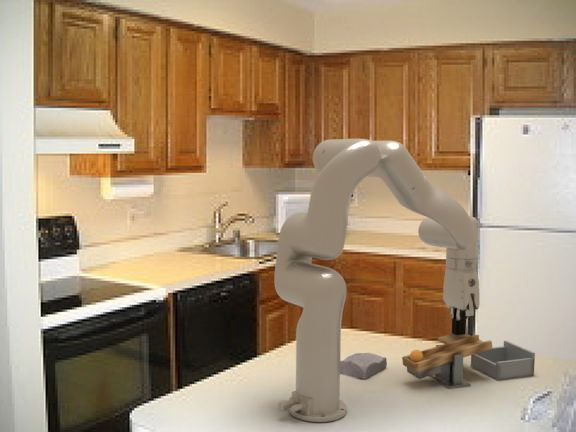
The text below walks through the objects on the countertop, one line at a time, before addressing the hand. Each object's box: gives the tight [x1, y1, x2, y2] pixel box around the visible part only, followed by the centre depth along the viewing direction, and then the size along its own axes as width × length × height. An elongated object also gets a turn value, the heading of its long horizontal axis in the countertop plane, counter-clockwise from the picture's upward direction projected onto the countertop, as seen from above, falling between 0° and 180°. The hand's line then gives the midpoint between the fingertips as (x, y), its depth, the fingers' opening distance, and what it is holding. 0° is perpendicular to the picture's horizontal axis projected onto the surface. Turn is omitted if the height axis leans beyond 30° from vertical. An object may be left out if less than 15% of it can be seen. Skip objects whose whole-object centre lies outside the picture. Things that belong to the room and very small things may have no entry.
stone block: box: [340, 352, 388, 380], centre depth 162 cm, size 12×5×10 cm
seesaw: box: [401, 333, 493, 380], centre depth 158 cm, size 22×14×4 cm, turn 109°
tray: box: [470, 340, 536, 382], centre depth 162 cm, size 11×11×6 cm
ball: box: [409, 349, 423, 363], centre depth 152 cm, size 3×3×3 cm
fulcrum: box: [429, 343, 472, 390], centre depth 155 cm, size 6×10×8 cm, turn 19°
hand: (458, 333), depth 163 cm, fingers closed
